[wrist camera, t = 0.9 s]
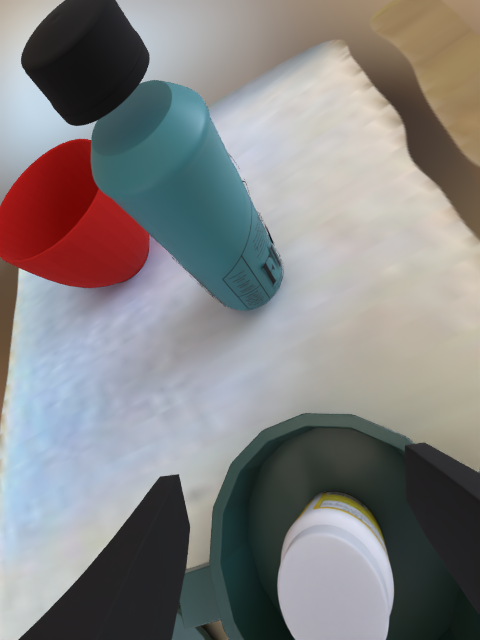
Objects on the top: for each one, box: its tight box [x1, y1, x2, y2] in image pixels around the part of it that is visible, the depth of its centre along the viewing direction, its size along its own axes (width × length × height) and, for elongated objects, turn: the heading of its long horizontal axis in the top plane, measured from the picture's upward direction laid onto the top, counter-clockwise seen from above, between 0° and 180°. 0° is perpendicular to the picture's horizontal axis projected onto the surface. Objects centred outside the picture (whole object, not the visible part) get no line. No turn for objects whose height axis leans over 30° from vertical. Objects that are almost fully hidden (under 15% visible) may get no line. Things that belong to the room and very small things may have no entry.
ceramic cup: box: [0, 139, 149, 288], centre depth 31 cm, size 13×17×10 cm
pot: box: [179, 413, 480, 640], centre depth 17 cm, size 13×19×5 cm
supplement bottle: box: [277, 490, 394, 640], centre depth 15 cm, size 5×5×8 cm
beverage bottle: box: [21, 0, 283, 310], centre depth 18 cm, size 6×7×20 cm
